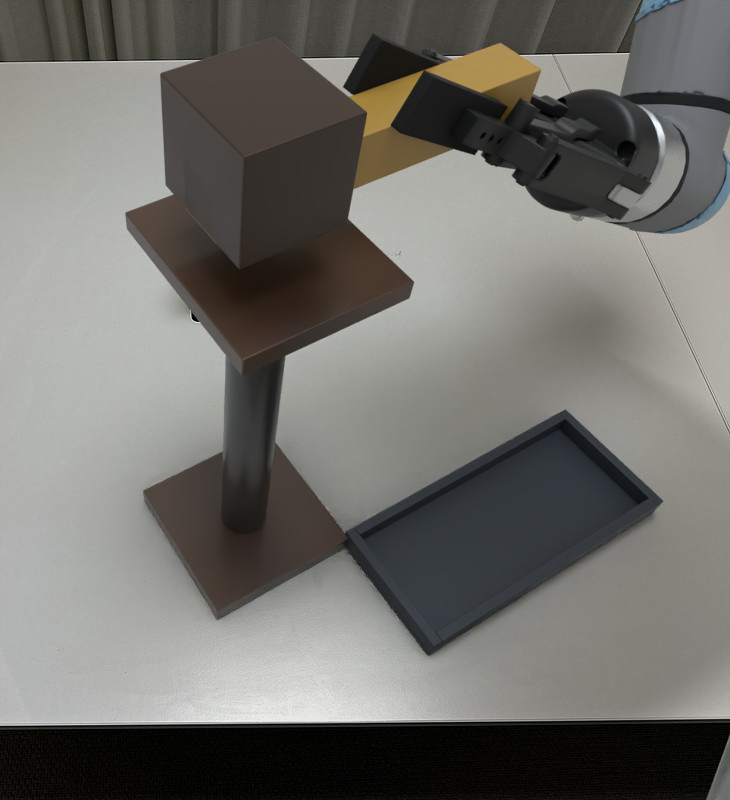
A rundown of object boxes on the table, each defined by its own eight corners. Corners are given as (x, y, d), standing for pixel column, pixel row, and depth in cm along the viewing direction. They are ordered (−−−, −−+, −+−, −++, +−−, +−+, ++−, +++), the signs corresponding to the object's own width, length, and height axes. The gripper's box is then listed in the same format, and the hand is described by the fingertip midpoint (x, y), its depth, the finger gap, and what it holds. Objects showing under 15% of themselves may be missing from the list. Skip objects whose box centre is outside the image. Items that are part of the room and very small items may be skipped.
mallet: (459, 77, 45) (490, -33, 40) (550, 141, 41) (596, 28, 36) (164, 185, 39) (159, 72, 34) (239, 270, 35) (244, 157, 31)
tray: (557, 421, 70) (565, 408, 69) (652, 512, 65) (664, 500, 63) (342, 542, 63) (345, 531, 62) (428, 656, 58) (434, 646, 56)
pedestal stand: (264, 440, 69) (294, 148, 45) (346, 547, 63) (431, 274, 39) (144, 500, 66) (107, 218, 42) (217, 620, 60) (223, 369, 36)
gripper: (655, 279, 50) (453, 250, 35) (480, 147, 58) (256, 77, 43) (750, 174, 46) (570, 90, 30) (547, 49, 54) (326, -67, 39)
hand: (387, 82), depth 37 cm, fingers closed on mallet, 3 cm apart
